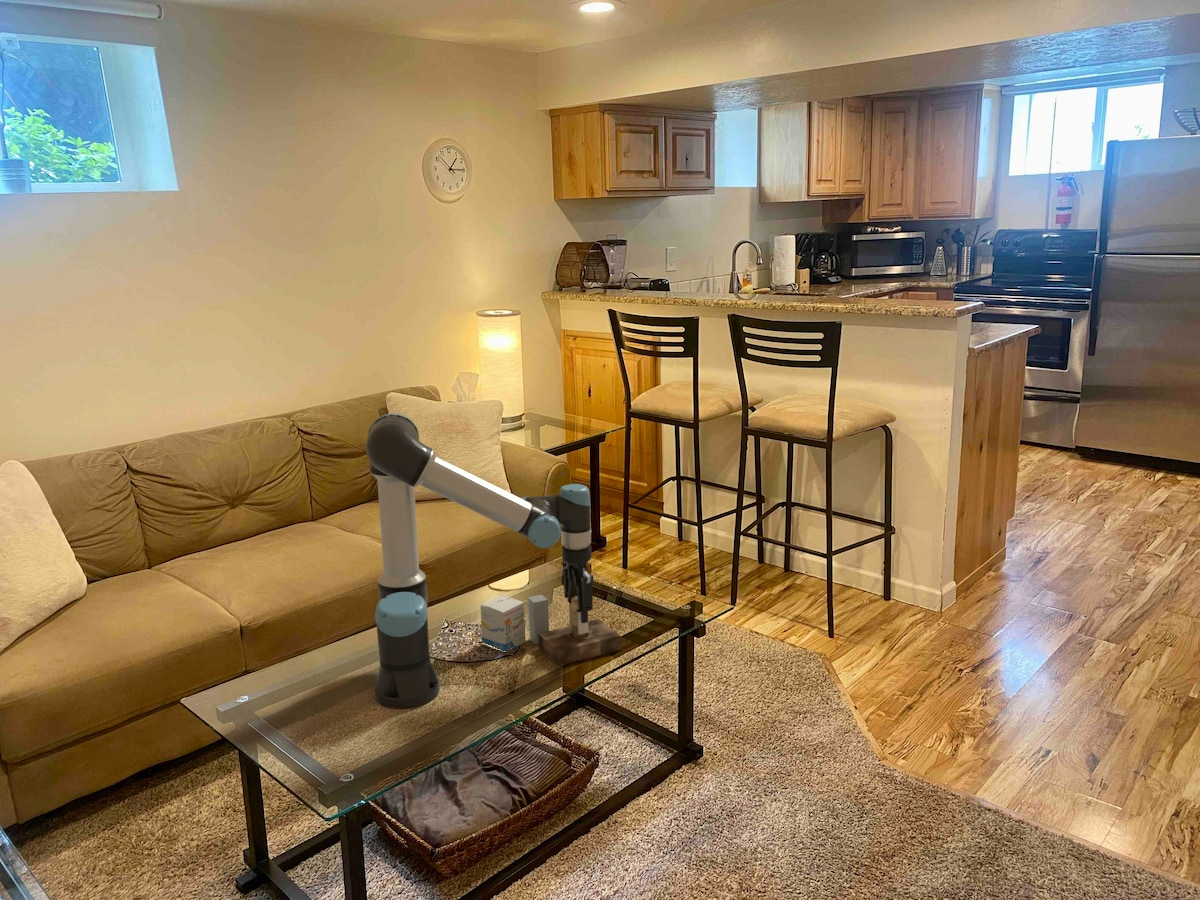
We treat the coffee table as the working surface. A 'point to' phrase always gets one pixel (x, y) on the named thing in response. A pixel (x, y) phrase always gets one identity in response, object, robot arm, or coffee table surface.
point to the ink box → (503, 623)
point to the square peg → (538, 617)
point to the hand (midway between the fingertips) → (579, 629)
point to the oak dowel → (575, 619)
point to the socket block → (579, 643)
